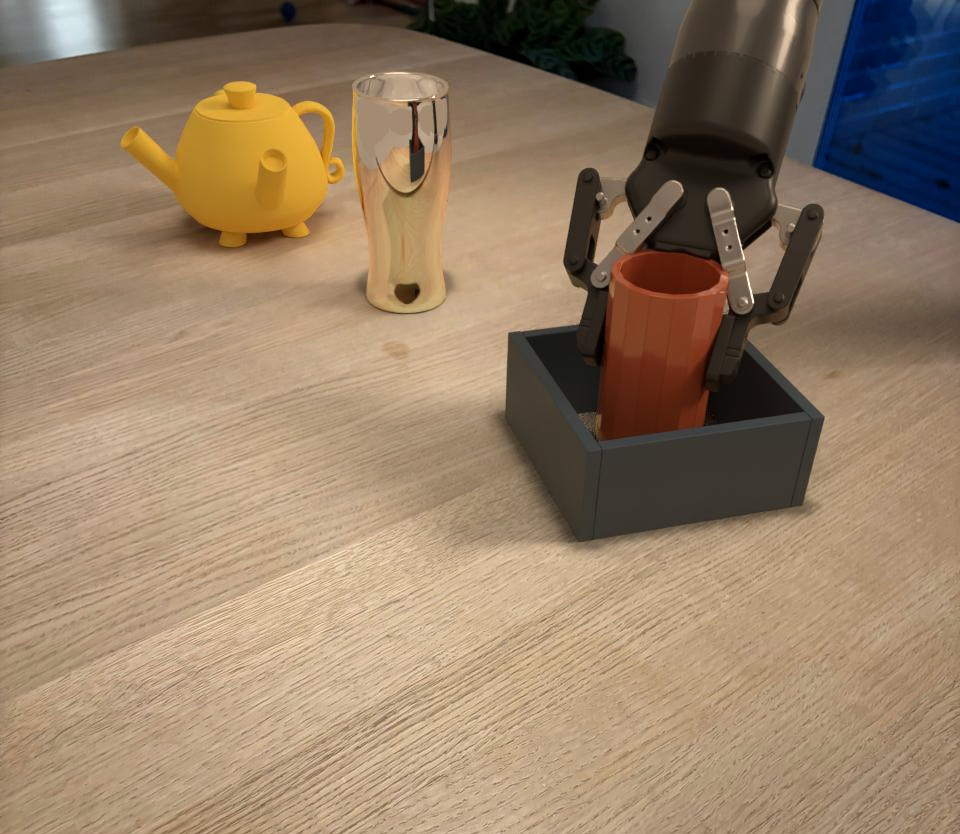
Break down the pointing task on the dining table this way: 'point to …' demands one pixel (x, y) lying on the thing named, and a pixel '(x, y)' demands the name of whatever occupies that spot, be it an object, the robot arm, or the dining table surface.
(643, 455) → the open box
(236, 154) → the teapot
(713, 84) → the robot arm
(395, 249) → the beer glass
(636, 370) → the tumbler
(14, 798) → the dining table surface
